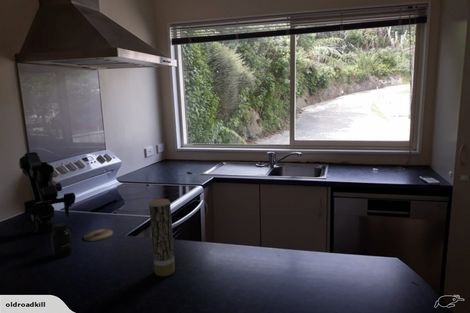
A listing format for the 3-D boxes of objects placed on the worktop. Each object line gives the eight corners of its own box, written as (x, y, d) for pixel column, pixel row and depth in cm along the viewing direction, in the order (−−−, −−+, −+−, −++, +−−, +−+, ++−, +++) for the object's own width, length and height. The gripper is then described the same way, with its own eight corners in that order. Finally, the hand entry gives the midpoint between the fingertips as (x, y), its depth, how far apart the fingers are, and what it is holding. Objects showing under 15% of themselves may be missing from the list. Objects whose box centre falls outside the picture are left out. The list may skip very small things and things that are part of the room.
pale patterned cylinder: (157, 279, 111) (151, 206, 107) (152, 270, 117) (146, 201, 113) (177, 274, 114) (172, 202, 110) (171, 265, 120) (166, 197, 116)
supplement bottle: (67, 258, 130) (63, 228, 128) (49, 258, 130) (45, 228, 128) (76, 250, 136) (72, 221, 134) (59, 250, 137) (55, 222, 135)
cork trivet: (77, 239, 147) (77, 237, 147) (96, 229, 158) (96, 227, 158) (100, 242, 143) (100, 240, 143) (118, 231, 154) (118, 230, 154)
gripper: (20, 181, 132) (29, 215, 125) (71, 173, 143) (82, 204, 137) (20, 197, 139) (28, 230, 132) (69, 188, 151) (79, 218, 144)
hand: (55, 220), depth 136 cm, fingers open, 9 cm apart
